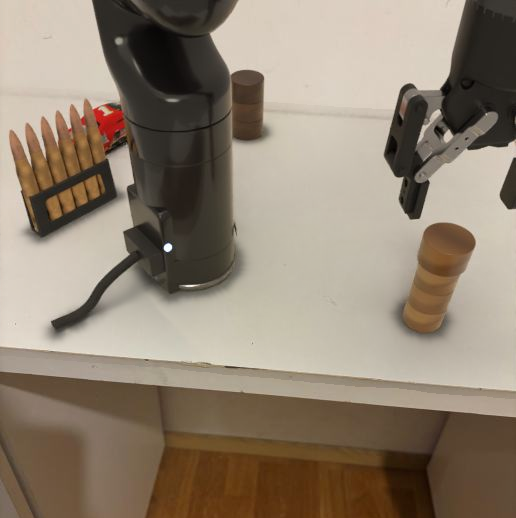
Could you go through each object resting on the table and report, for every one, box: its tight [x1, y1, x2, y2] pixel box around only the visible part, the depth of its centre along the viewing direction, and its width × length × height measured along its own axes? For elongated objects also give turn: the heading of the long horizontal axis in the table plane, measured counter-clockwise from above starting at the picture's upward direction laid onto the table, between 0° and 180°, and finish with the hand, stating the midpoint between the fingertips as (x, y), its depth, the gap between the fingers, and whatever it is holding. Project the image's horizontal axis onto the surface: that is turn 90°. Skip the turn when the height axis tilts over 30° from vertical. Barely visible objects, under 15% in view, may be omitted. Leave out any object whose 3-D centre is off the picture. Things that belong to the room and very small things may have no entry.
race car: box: [57, 101, 127, 153], centre depth 75 cm, size 13×5×4 cm, turn 140°
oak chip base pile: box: [402, 262, 461, 334], centre depth 54 cm, size 4×4×8 cm
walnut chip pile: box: [230, 69, 265, 141], centre depth 76 cm, size 4×4×8 cm
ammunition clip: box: [8, 97, 118, 238], centre depth 62 cm, size 11×2×12 cm, turn 138°
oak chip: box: [416, 221, 477, 277], centre depth 50 cm, size 4×4×2 cm
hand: (460, 208), depth 48 cm, fingers open, 8 cm apart
